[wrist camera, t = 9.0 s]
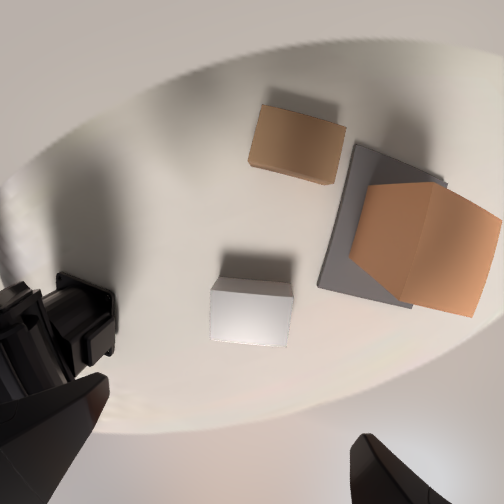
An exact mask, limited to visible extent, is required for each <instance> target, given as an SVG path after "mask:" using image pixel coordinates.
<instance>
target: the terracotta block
mask: <svg viewBox="0 0 504 504" xmlns="http://www.w3.org/2000/svg"><path fill="white" fill-rule="evenodd" d="M501 224H502V220H501V219H499V218H497V217H496V216H494V215H493V214H491V213H489V212H488V211H486V210H484V209H483V208H481V207H479V206H478V205H476V204H474V203H473V202H471V201H469V200H467V199H465V198H464V197H462V196H460V195H458V194H456V193H454V192H452V191H451V190H449V189H447V188H445V187H443V186H441V185H439V184H437V183H435V182H419V183H399V184H383V185H369V186H368V189H367V193H366V197H365V201H364V205H363V209H362V212H361V216H360V220H359V223H358V227H357V230H356V234H355V237H354V241H353V244H352V247H351V251H350V254H349V258H350V259H351V260H352V261H354V262H355V263H356V264H357V265H358V266H359V267H361V268H362V269H363V270H364V271H365V272H367V273H368V274H369V275H370V276H371V277H372V278H374V279H375V280H376V281H377V282H378V283H379V284H381V285H382V286H383V287H384V288H385V289H386V290H387V291H389V292H390V293H391V294H392V295H393V296H394V297H395V298H396V299H398V300H399V301H402V302H406V303H410V304H414V305H419V306H423V307H427V308H431V309H436V310H440V311H444V312H449V313H453V314H457V315H462V316H466V317H471V318H472V317H473V314H474V312H475V309H476V307H477V304H478V302H479V299H480V297H481V294H482V291H483V288H484V285H485V283H486V280H487V277H488V273H489V270H490V267H491V264H492V260H493V257H494V253H495V249H496V246H497V242H498V237H499V233H500V229H501Z"/></svg>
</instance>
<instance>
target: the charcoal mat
mask: <svg viewBox="0 0 504 504" xmlns="http://www.w3.org/2000/svg"><path fill="white" fill-rule="evenodd" d="M419 182H435V183H437V184H439V185H441V186H443V187H445V188H447V185H448V183H446V182H444V181H442V180H440V179H438V178H436V177H434V176H432V175H430V174H428V173H426V172H423V171H421V170H419V169H417V168H415V167H413V166H410V165H408V164H406V163H403V162H401V161H399V160H396V159H394V158H391V157H389V156H386V155H384V154H381V153H379V152H376V151H374V150H371V149H368V148H365V147H363V146H360V145H357V144H356V145H354V146H353V151H352V156H351V160H350V165H349V169H348V173H347V178H346V182H345V186H344V190H343V194H342V198H341V202H340V206H339V210H338V214H337V217H336V221H335V225H334V228H333V232H332V236H331V239H330V243H329V246H328V250H327V253H326V256H325V260H324V263H323V266H322V270H321V273H320V276H319V279H318V282H317V286H318V288H322V289H326V290H330V291H334V292H339V293H343V294H347V295H352V296H356V297H360V298H365V299H369V300H373V301H378V302H382V303H387V304H391V305H396V306H400V307H405V308H409V309H412V306H413V304H410V303H406V302H402V301H399V300H398V299H396V298H395V297H394V296H393V295H392V294H391V293H390V292H389V291H387V290H386V289H385V288H384V287H383V286H382V285H381V284H379V283H378V282H377V281H376V280H375V279H374V278H372V277H371V276H370V275H369V274H368V273H367V272H365V271H364V270H363V269H362V268H361V267H359V266H358V265H357V264H356V263H355V262H354V261H352V260H351V259H350V258H349V254H350V251H351V247H352V244H353V241H354V237H355V234H356V230H357V227H358V223H359V220H360V216H361V212H362V209H363V205H364V201H365V197H366V193H367V189H368V186H369V185H383V184H399V183H419Z"/></svg>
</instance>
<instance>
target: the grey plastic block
mask: <svg viewBox="0 0 504 504" xmlns="http://www.w3.org/2000/svg"><path fill="white" fill-rule="evenodd" d="M293 299H294V297H293V292H292V287H291V283H286V282H274V281H262V280H250V279H239V278H228V277H218V279H217V281H216V282H215V284H214V285H213V287H212V288H211V292H210V340H216V341H224V342H232V343H242V344H252V345H263V346H276V347H287V342H288V335H289V328H290V321H291V314H292V306H293Z"/></svg>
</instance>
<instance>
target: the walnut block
mask: <svg viewBox="0 0 504 504" xmlns="http://www.w3.org/2000/svg"><path fill="white" fill-rule="evenodd" d="M345 132H346V127H344V126H341V125H338V124H335V123H332V122H328V121H325V120H322V119H318V118H315V117H311V116H308V115H304V114H301V113H297V112H293V111H289V110H285V109H281V108H276V107H272V106H267V105H263V104H262V107H261V111H260V115H259V118H258V122H257V126H256V130H255V134H254V138H253V141H252V145H251V149H250V153H249V157H248V162H249V164H250V166H252V167H257V168H261V169H265V170H269V171H273V172H277V173H281V174H285V175H289V176H293V177H296V178H300V179H304V180H307V181H311V182H314V183H318V184H321V185H329V184H334V181H335V177H336V173H337V168H338V164H339V160H340V155H341V151H342V146H343V141H344V137H345Z"/></svg>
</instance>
